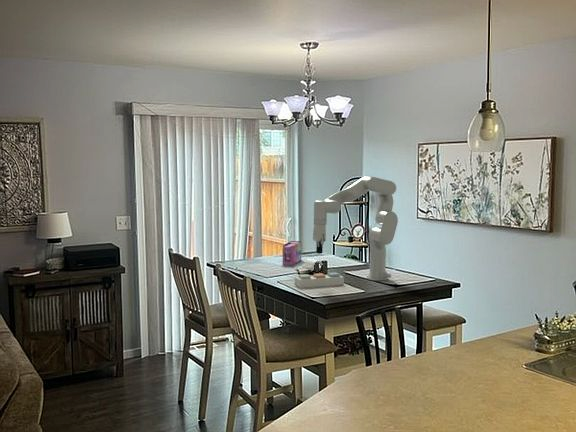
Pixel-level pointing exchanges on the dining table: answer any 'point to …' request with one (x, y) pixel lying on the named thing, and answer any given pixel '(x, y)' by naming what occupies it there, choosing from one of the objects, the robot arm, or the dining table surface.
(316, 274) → the terracotta button
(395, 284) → the dining table surface
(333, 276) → the slate button
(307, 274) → the sage button
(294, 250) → the gum box
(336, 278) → the button panel
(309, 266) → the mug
